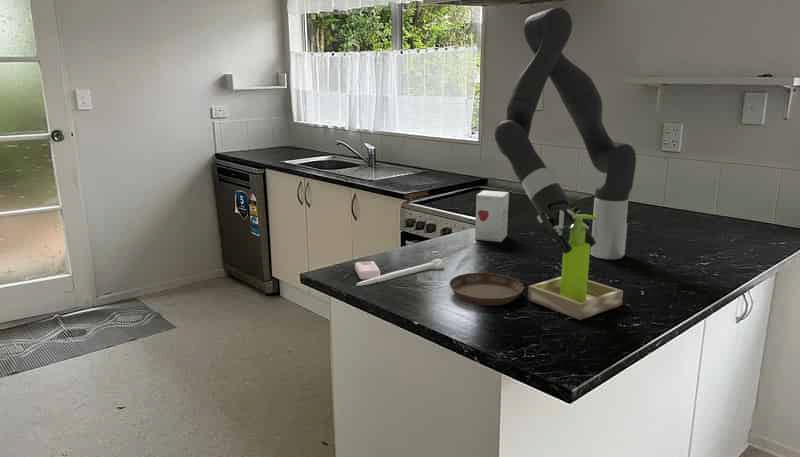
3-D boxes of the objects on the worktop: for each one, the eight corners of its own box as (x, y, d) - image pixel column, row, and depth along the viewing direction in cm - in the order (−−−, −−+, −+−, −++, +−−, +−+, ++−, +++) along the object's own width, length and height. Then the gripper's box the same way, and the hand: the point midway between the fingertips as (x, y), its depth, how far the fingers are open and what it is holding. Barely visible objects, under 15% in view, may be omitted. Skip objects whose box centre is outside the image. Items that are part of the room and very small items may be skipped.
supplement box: (474, 239, 194) (475, 194, 190) (481, 233, 202) (482, 189, 199) (501, 242, 191) (503, 196, 187) (507, 235, 199) (509, 191, 195)
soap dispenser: (591, 303, 136) (598, 218, 131) (560, 301, 137) (566, 216, 133) (589, 295, 142) (596, 212, 137) (559, 293, 143) (564, 211, 138)
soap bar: (360, 280, 156) (360, 271, 155) (354, 270, 165) (354, 261, 164) (380, 279, 157) (380, 270, 157) (374, 268, 166) (374, 260, 165)
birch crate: (569, 287, 149) (569, 274, 149) (621, 304, 138) (623, 290, 137) (527, 300, 141) (528, 285, 140) (580, 320, 129) (581, 304, 128)
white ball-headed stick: (363, 291, 148) (363, 280, 148) (354, 286, 152) (354, 276, 151) (447, 269, 165) (447, 259, 164) (437, 266, 168) (437, 256, 168)
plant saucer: (536, 304, 139) (537, 292, 138) (465, 313, 134) (466, 300, 133) (502, 281, 155) (503, 269, 154) (438, 287, 150) (438, 276, 150)
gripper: (533, 185, 135) (571, 245, 129) (573, 179, 143) (610, 235, 137) (514, 204, 140) (550, 262, 134) (554, 197, 149) (589, 252, 142)
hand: (580, 248), depth 136 cm, fingers open, 8 cm apart
